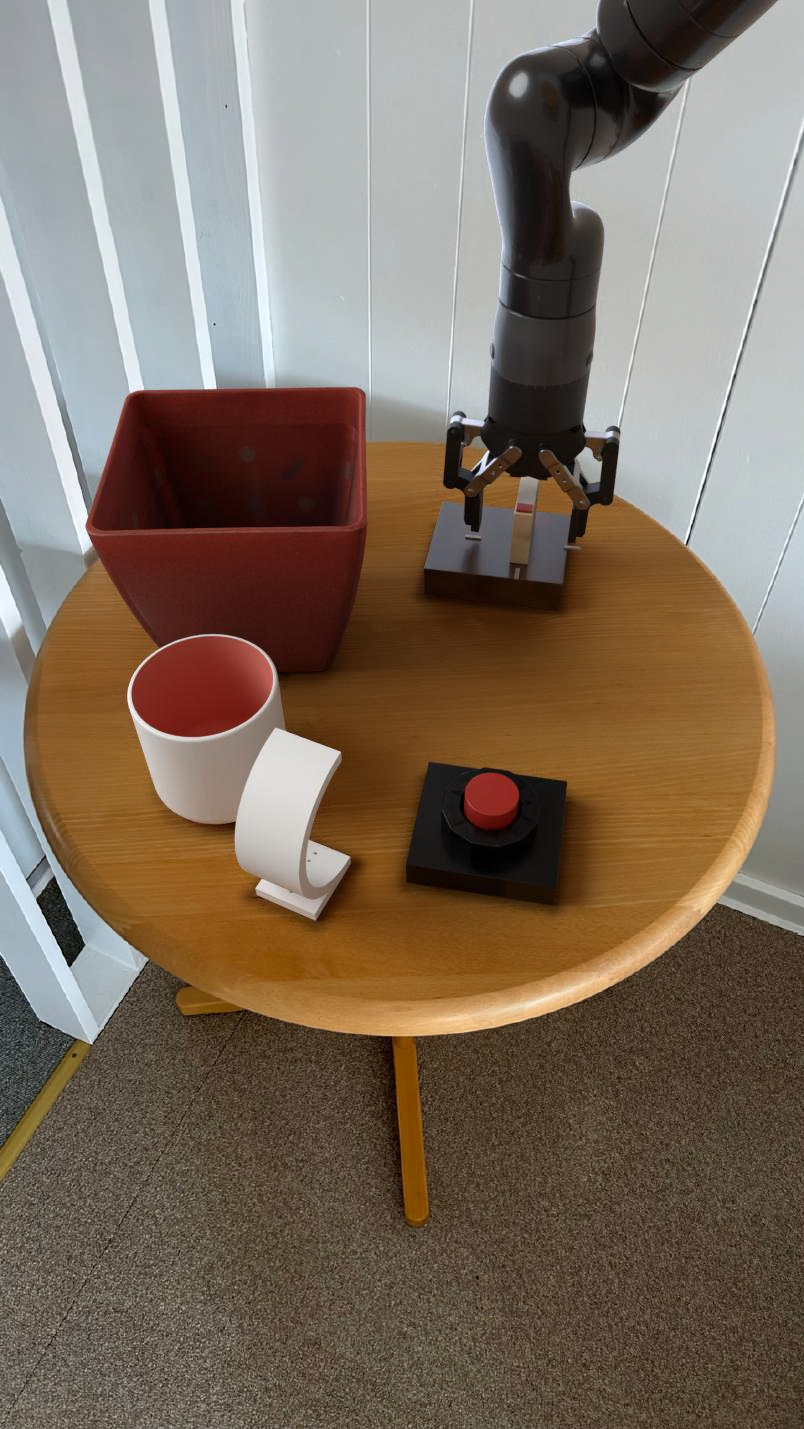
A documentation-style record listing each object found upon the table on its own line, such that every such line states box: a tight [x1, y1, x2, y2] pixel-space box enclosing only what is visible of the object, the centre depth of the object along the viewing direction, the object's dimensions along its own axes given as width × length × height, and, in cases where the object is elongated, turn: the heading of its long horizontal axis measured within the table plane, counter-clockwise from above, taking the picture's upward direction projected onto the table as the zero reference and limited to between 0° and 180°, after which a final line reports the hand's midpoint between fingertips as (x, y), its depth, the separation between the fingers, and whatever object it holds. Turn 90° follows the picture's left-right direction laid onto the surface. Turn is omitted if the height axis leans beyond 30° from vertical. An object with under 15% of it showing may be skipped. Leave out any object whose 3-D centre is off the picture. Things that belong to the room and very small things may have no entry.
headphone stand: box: [234, 728, 352, 922], centre depth 61 cm, size 5×6×12 cm
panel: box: [423, 501, 582, 611], centre depth 87 cm, size 13×10×3 cm
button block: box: [405, 761, 568, 906], centre depth 67 cm, size 10×9×4 cm
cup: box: [127, 634, 287, 825], centre depth 68 cm, size 10×10×10 cm
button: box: [464, 773, 519, 830], centre depth 65 cm, size 4×4×2 cm
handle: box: [510, 477, 541, 564], centre depth 84 cm, size 6×2×5 cm, turn 169°
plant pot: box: [84, 386, 368, 673], centre depth 77 cm, size 19×19×17 cm
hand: (523, 532), depth 85 cm, fingers open, 8 cm apart
